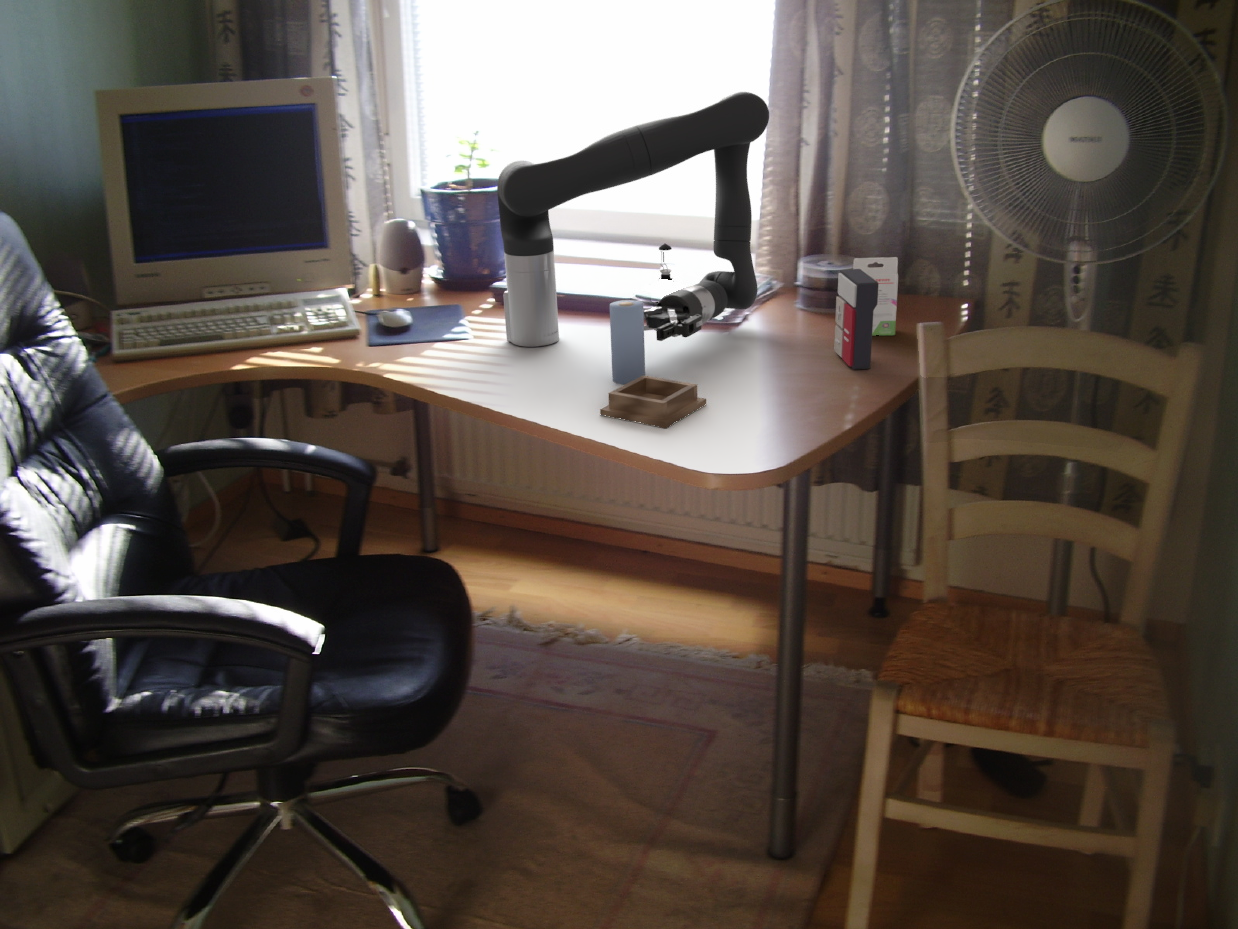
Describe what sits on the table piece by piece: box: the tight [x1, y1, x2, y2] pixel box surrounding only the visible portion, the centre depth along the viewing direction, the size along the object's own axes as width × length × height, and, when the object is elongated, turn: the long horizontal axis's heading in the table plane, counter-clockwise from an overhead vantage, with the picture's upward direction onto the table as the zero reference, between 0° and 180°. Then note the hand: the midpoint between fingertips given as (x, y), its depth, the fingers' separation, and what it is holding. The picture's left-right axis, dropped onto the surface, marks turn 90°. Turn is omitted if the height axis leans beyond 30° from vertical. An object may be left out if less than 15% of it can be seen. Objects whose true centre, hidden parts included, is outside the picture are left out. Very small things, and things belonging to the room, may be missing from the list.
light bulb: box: [658, 243, 673, 280], centre depth 230 cm, size 12×10×10 cm
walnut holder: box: [599, 374, 707, 429], centre depth 168 cm, size 12×12×4 cm
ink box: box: [852, 256, 899, 337], centre depth 201 cm, size 9×5×15 cm, turn 84°
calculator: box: [833, 268, 878, 371], centre depth 186 cm, size 11×4×15 cm, turn 5°
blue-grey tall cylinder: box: [609, 299, 646, 385], centre depth 181 cm, size 6×6×13 cm
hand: (637, 331), depth 183 cm, fingers open, 8 cm apart
